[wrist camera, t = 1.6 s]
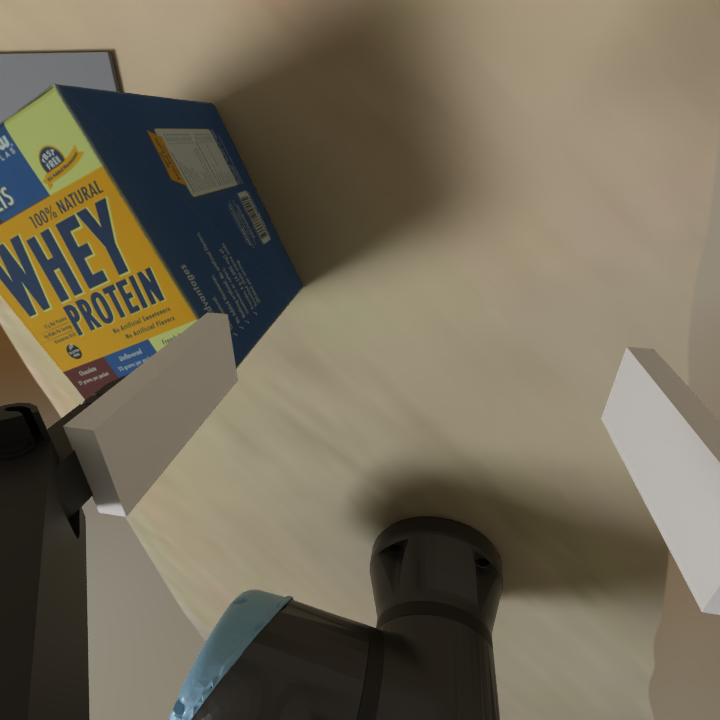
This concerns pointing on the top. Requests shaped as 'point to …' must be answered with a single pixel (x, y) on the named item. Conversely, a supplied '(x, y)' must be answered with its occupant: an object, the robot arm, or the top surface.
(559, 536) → the top surface
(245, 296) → the protein box
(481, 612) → the robot arm
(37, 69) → the slate rubber mat
